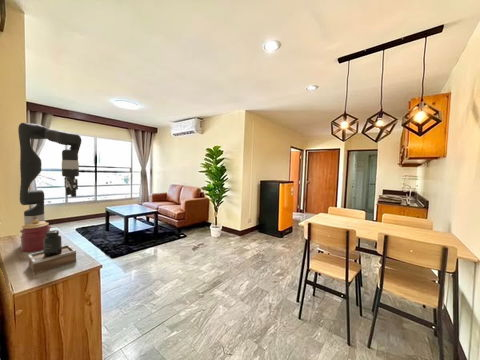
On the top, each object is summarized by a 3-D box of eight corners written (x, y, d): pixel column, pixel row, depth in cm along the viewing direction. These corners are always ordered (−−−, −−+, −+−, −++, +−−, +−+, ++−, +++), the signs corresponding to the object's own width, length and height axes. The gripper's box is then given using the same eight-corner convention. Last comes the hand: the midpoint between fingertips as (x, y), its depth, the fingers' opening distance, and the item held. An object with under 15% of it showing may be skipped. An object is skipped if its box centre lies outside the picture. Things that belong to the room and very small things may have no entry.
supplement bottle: (65, 252, 106) (64, 230, 105) (49, 258, 100) (48, 234, 99) (56, 250, 109) (55, 228, 108) (40, 255, 102) (39, 232, 101)
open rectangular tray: (28, 265, 101) (28, 254, 101) (69, 254, 114) (68, 244, 114) (33, 274, 94) (33, 262, 94) (76, 261, 107) (75, 250, 107)
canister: (43, 251, 117) (42, 222, 116) (14, 253, 113) (13, 223, 112) (56, 242, 129) (55, 216, 128) (30, 244, 125) (29, 216, 124)
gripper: (58, 167, 117) (59, 195, 118) (66, 168, 108) (66, 198, 110) (74, 167, 123) (75, 193, 124) (82, 168, 114) (83, 196, 116)
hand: (71, 195), depth 117 cm, fingers open, 8 cm apart
